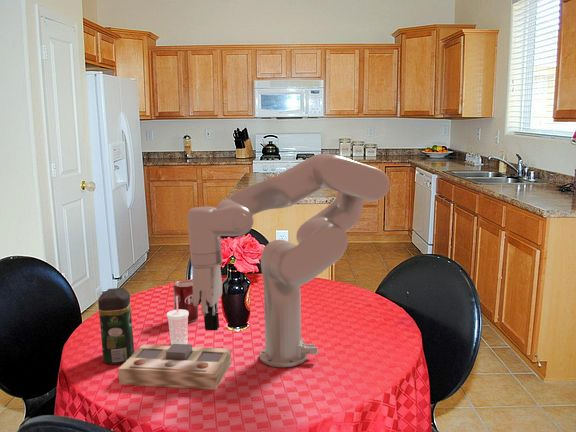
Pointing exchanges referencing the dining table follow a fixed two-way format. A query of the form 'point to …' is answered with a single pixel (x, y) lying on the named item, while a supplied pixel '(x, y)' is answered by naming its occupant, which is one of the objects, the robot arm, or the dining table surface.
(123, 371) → the button board
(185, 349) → the middle button
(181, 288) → the soda can
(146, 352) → the button
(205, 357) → the button
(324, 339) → the dining table surface
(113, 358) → the coffee jar
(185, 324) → the beverage cup
